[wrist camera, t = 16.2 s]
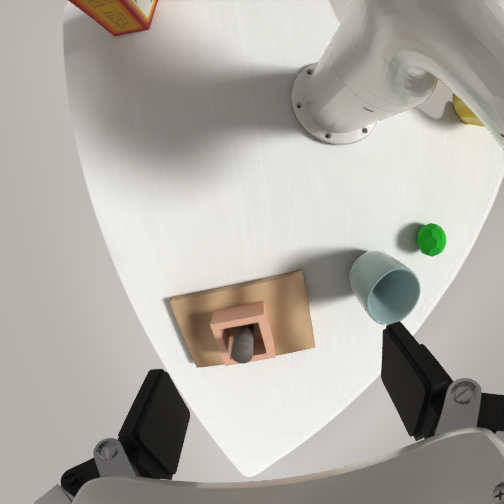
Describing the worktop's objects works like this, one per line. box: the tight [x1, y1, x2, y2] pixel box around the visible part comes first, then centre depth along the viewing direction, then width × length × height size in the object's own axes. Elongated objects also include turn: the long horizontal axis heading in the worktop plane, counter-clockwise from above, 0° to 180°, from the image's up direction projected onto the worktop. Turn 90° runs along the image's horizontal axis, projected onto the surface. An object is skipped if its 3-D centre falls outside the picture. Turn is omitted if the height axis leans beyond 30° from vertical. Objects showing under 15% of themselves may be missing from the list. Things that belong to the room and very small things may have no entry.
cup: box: [349, 251, 420, 325], centre depth 34 cm, size 8×8×10 cm
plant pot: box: [453, 94, 485, 127], centre depth 25 cm, size 10×10×10 cm
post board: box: [169, 270, 315, 368], centre depth 37 cm, size 20×13×8 cm, turn 104°
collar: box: [210, 301, 275, 366], centre depth 38 cm, size 7×7×4 cm
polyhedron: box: [417, 223, 446, 256], centre depth 35 cm, size 5×5×5 cm
